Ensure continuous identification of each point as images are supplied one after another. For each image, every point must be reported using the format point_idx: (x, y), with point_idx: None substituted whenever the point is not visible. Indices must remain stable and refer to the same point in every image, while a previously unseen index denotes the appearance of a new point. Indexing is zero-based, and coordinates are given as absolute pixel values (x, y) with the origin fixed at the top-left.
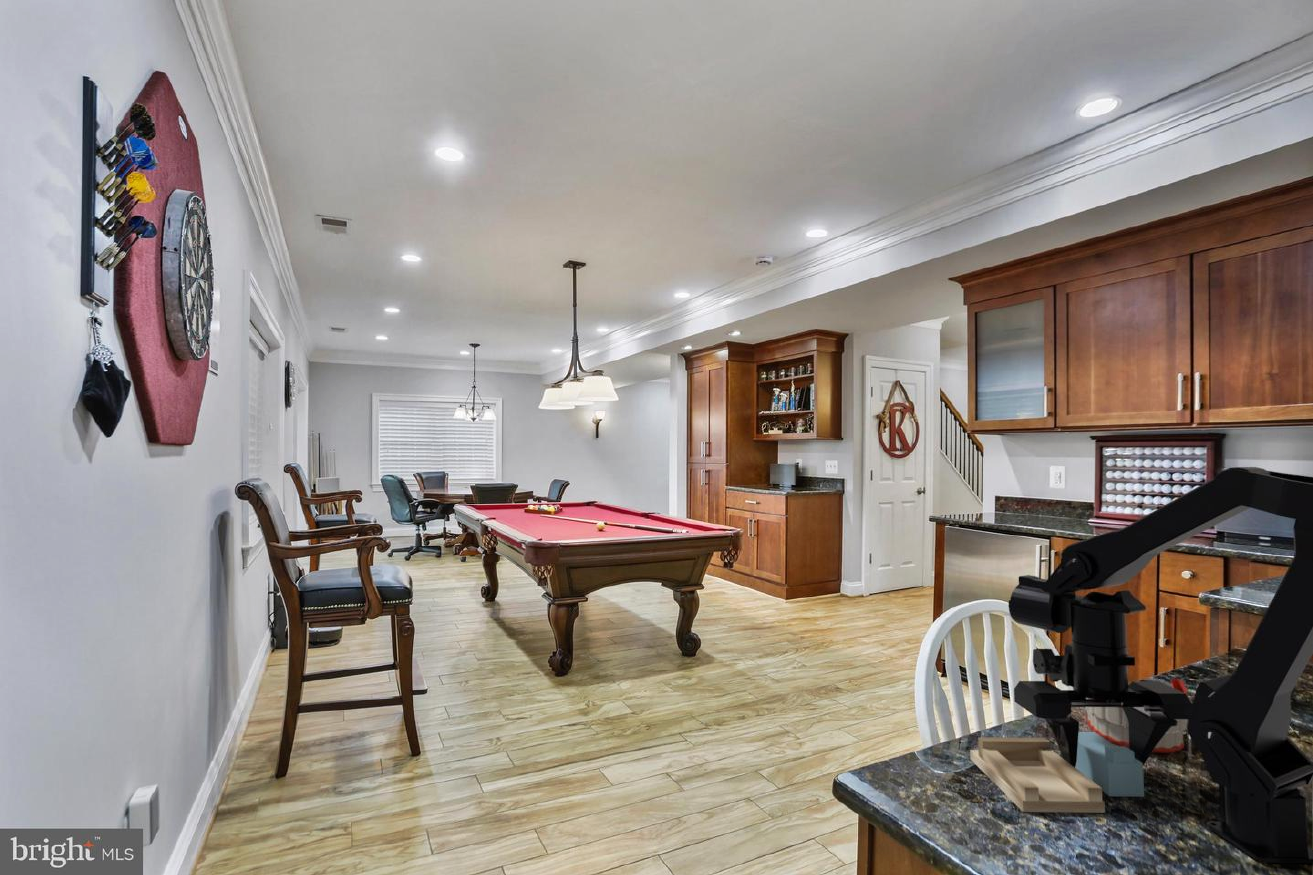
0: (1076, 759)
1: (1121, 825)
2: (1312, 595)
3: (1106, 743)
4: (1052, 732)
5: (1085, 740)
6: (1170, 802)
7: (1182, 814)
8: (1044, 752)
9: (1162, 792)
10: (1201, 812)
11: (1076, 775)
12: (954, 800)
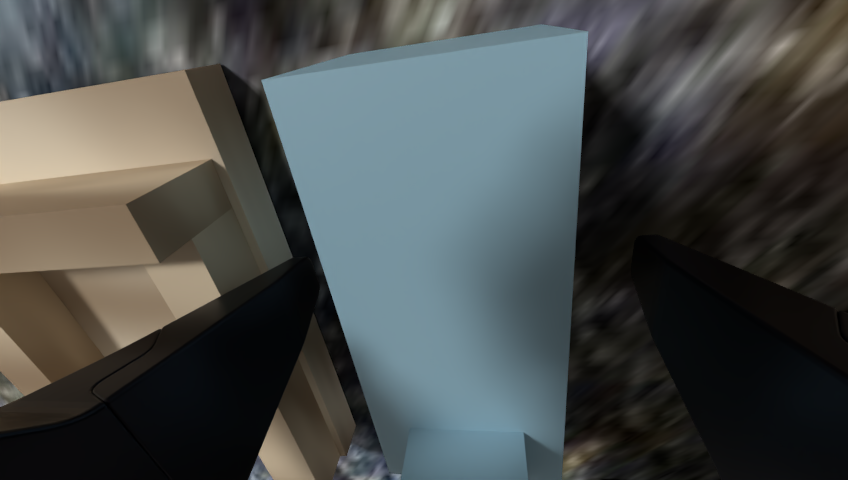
0: (299, 350)
1: (372, 461)
2: None
3: (527, 289)
4: (114, 352)
5: (391, 252)
6: (606, 383)
7: (582, 433)
8: (161, 285)
9: (642, 329)
10: (659, 427)
11: (267, 445)
12: (5, 380)
